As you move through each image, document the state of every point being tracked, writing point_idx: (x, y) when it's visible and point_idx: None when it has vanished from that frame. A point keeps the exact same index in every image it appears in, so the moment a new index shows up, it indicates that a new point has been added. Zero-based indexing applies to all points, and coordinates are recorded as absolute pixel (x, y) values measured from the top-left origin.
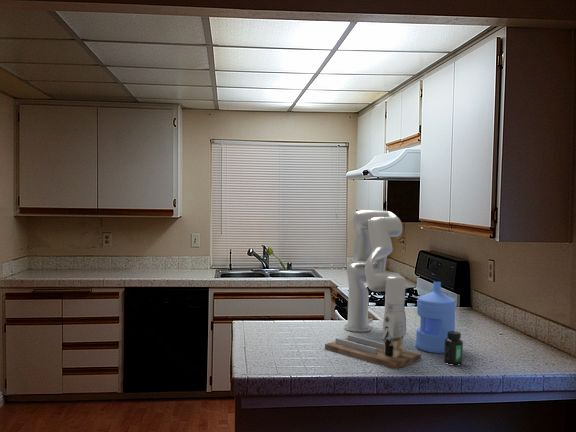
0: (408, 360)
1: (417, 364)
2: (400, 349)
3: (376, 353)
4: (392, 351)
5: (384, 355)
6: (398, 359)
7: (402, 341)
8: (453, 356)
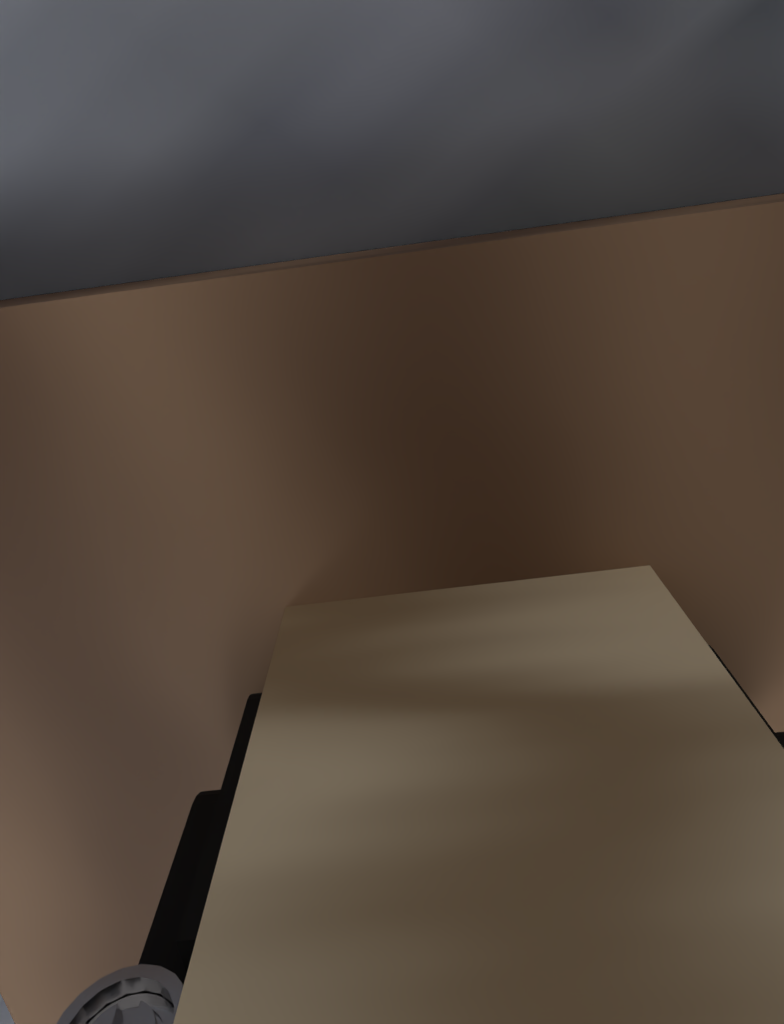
0: (441, 243)
1: (229, 59)
2: (388, 703)
3: None
4: None
5: None
6: (752, 390)
7: (222, 968)
8: None
